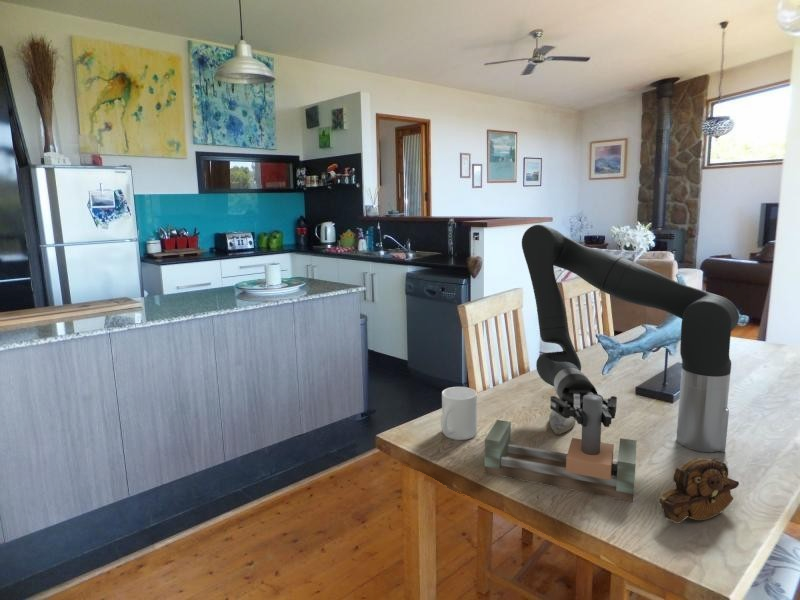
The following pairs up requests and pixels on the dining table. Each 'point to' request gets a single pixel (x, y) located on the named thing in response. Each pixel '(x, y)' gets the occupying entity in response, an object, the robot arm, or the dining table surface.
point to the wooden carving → (698, 491)
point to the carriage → (591, 445)
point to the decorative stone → (560, 422)
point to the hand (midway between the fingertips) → (596, 421)
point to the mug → (459, 413)
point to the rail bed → (556, 465)
